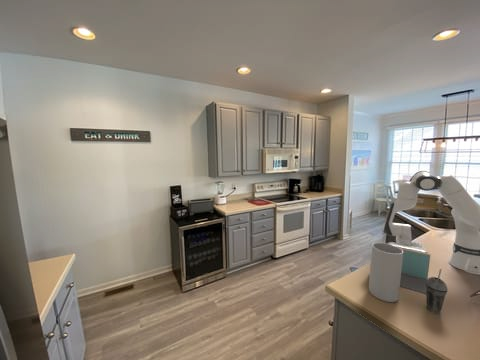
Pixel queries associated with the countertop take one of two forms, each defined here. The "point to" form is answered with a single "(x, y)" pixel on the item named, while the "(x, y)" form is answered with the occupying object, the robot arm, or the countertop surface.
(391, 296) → the cylinder vase
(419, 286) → the mat
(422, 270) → the tile
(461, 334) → the countertop surface
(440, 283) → the beverage cup
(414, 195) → the robot arm
